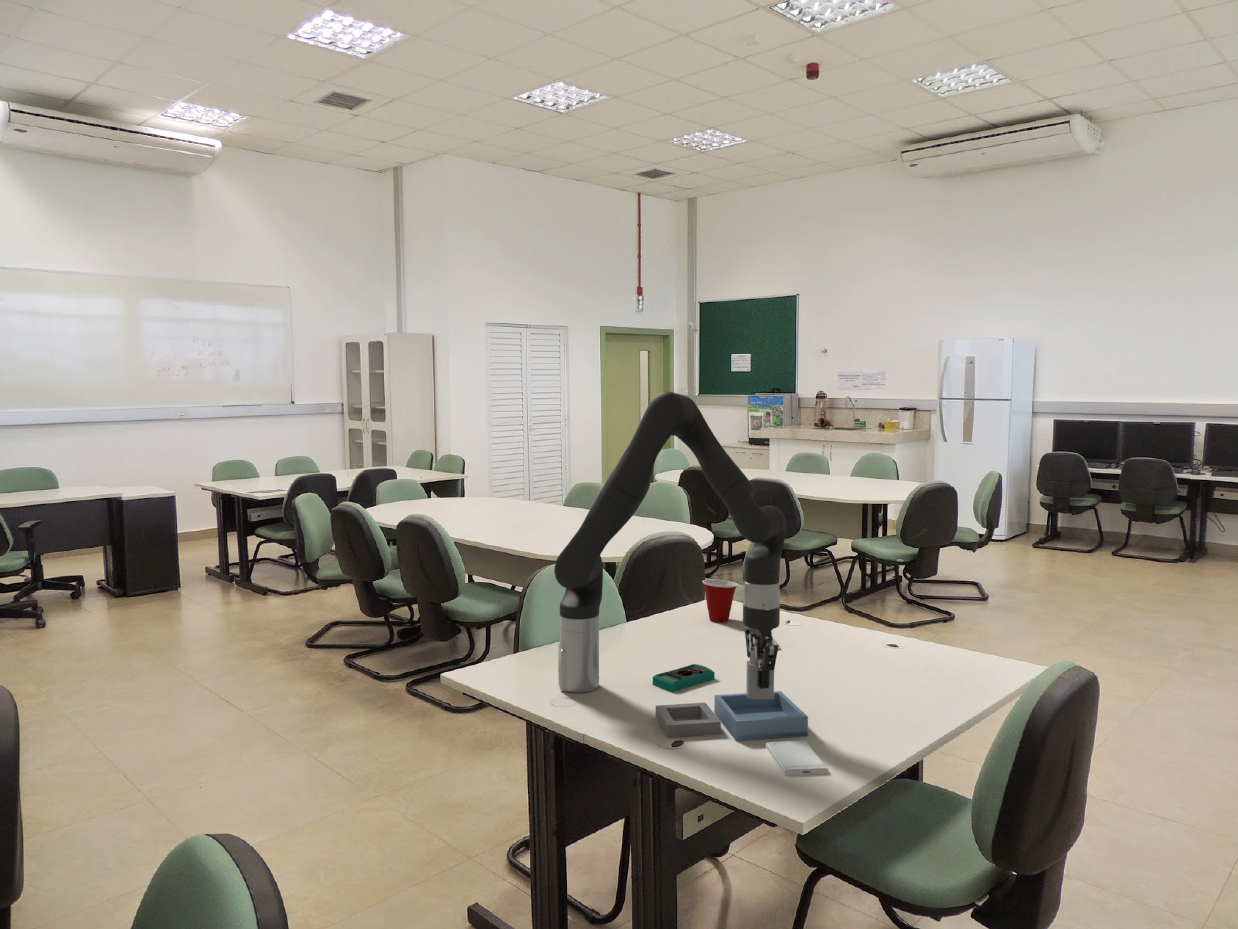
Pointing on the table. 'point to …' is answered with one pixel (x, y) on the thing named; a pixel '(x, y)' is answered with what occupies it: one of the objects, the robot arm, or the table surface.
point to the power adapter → (752, 680)
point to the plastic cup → (719, 598)
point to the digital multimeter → (683, 677)
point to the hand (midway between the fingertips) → (760, 684)
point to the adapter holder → (691, 727)
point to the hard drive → (796, 758)
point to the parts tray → (760, 717)
